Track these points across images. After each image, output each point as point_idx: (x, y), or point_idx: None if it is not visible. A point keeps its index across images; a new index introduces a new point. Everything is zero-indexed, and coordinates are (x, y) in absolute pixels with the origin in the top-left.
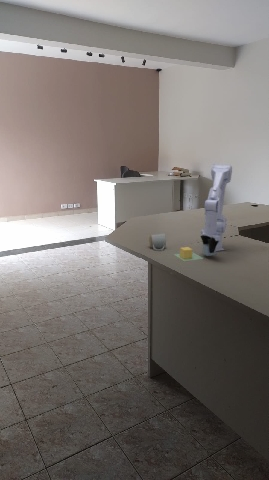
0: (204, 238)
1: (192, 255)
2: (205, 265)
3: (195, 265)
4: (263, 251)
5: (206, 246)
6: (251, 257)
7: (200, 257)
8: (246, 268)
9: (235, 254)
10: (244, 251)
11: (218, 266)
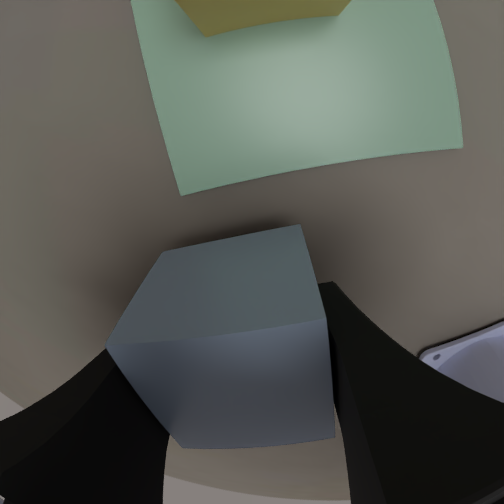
0: (368, 489)
1: (339, 79)
2: (16, 165)
3: (18, 69)
4: (313, 499)
5: (154, 337)
6: (234, 473)
7: (234, 163)
8: (48, 393)
9: (302, 447)
10: (339, 472)
11: (19, 269)
